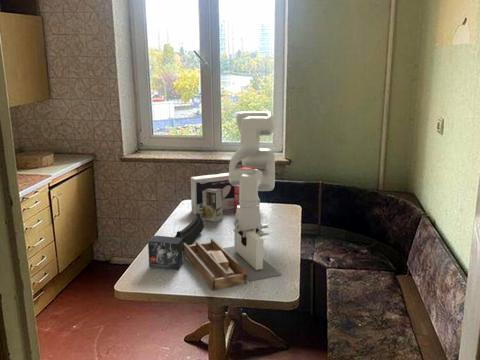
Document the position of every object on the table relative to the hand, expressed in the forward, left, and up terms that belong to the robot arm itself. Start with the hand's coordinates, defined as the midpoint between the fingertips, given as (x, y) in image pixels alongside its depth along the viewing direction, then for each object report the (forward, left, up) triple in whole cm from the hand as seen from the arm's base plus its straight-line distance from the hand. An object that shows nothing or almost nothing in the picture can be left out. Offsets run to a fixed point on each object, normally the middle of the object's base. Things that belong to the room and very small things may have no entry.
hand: (248, 243), depth 201 cm
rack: (+16, 0, -8) cm, 18 cm away
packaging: (-15, -72, -8) cm, 74 cm away
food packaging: (-28, -62, -8) cm, 68 cm away
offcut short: (+13, 0, -6) cm, 14 cm away
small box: (+33, -10, -8) cm, 36 cm away
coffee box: (-6, -57, -8) cm, 58 cm away
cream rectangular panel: (0, 0, -7) cm, 7 cm away
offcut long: (+13, 0, -9) cm, 16 cm away
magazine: (+16, -29, -8) cm, 35 cm away
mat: (0, 0, -8) cm, 8 cm away
